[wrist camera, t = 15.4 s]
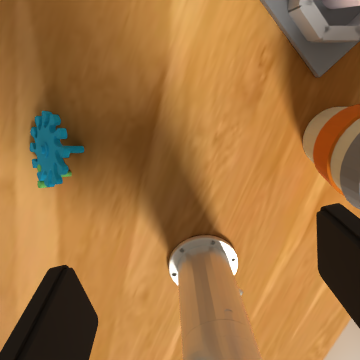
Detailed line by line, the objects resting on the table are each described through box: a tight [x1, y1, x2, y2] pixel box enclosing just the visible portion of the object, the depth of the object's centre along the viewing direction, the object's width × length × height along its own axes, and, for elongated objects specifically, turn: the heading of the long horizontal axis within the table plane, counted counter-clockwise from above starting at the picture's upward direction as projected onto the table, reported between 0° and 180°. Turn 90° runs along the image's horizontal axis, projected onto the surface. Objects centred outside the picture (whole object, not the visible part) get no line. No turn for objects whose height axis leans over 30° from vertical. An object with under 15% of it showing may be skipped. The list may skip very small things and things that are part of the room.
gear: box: [30, 111, 84, 188], centre depth 36 cm, size 11×6×10 cm
